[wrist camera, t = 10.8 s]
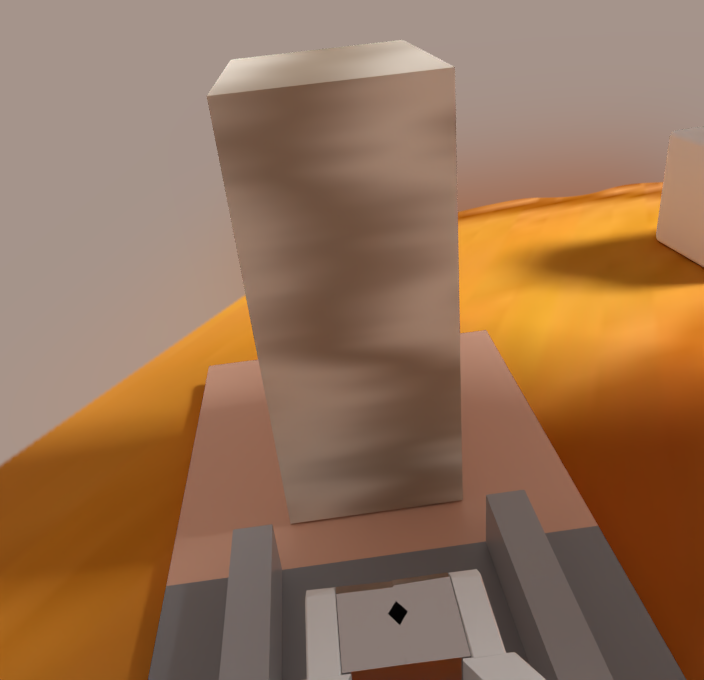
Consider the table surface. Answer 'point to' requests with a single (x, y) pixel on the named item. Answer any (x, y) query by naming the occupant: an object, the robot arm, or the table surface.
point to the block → (350, 268)
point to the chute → (395, 545)
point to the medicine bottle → (684, 195)
